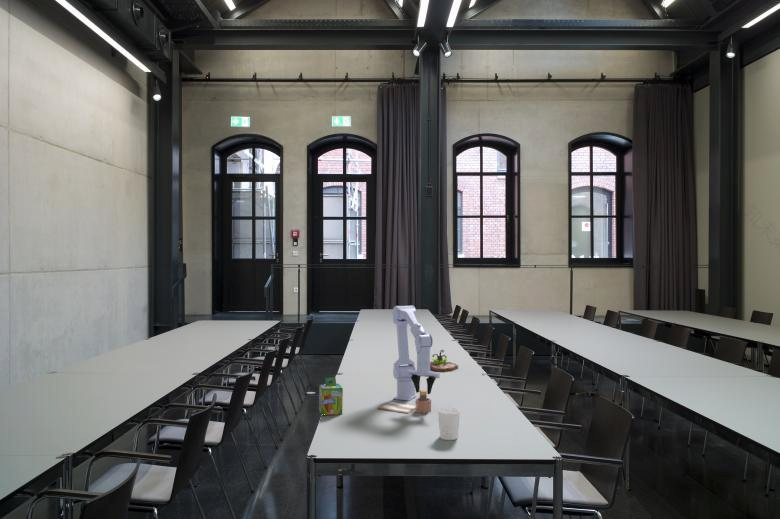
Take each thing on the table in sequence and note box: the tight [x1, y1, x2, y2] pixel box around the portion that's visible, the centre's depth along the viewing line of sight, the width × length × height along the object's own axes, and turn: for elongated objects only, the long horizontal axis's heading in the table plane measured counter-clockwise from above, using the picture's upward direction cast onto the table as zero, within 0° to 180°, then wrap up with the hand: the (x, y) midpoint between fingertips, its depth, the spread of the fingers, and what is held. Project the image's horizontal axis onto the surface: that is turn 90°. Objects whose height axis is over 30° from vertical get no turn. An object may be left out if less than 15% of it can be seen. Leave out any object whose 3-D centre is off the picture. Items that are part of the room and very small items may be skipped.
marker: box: [419, 390, 428, 401], centre depth 238 cm, size 3×3×8 cm
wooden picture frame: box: [377, 401, 416, 414], centre depth 243 cm, size 12×15×1 cm
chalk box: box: [318, 377, 344, 417], centre depth 236 cm, size 9×9×15 cm
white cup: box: [438, 407, 461, 441], centre depth 204 cm, size 8×8×10 cm
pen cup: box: [415, 397, 432, 414], centre depth 238 cm, size 6×6×5 cm
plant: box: [430, 349, 459, 373], centre depth 329 cm, size 20×20×11 cm
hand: (423, 392), depth 238 cm, fingers open, 5 cm apart
